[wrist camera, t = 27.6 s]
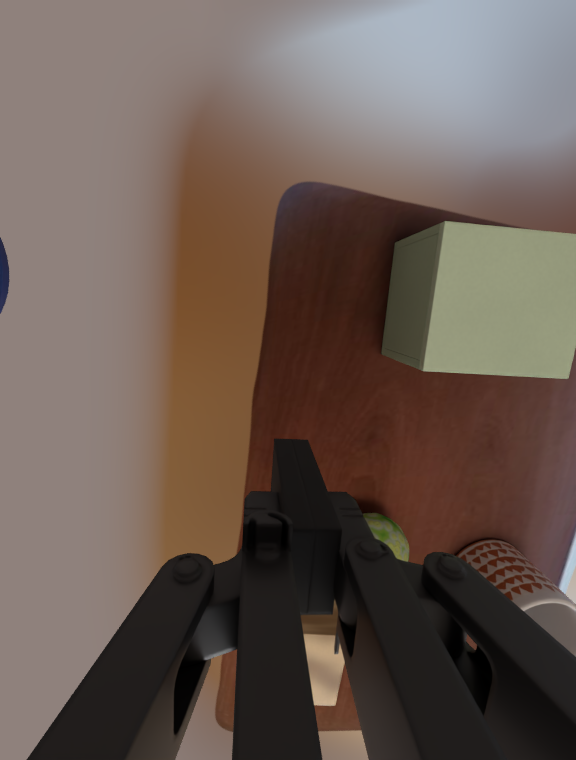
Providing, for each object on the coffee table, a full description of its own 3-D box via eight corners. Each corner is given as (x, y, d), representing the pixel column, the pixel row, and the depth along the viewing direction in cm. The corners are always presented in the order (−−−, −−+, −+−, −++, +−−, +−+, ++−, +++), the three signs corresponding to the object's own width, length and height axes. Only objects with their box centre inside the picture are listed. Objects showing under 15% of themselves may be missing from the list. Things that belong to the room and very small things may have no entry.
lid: (592, 238, 38) (601, 236, 37) (561, 377, 41) (568, 379, 40) (439, 223, 36) (445, 220, 35) (418, 369, 39) (422, 371, 38)
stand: (261, 539, 56) (263, 632, 40) (324, 544, 57) (350, 636, 41) (252, 595, 57) (251, 704, 42) (313, 598, 59) (335, 705, 43)
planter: (456, 619, 62) (506, 699, 50) (434, 556, 59) (482, 624, 47) (529, 590, 62) (598, 661, 50) (511, 525, 59) (580, 584, 47)
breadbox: (506, 252, 50) (584, 237, 38) (486, 360, 53) (553, 376, 41) (394, 242, 48) (439, 223, 36) (381, 354, 51) (418, 369, 39)
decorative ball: (343, 492, 55) (363, 533, 45) (402, 508, 57) (433, 550, 47) (322, 548, 57) (337, 599, 47) (380, 561, 58) (405, 613, 49)
